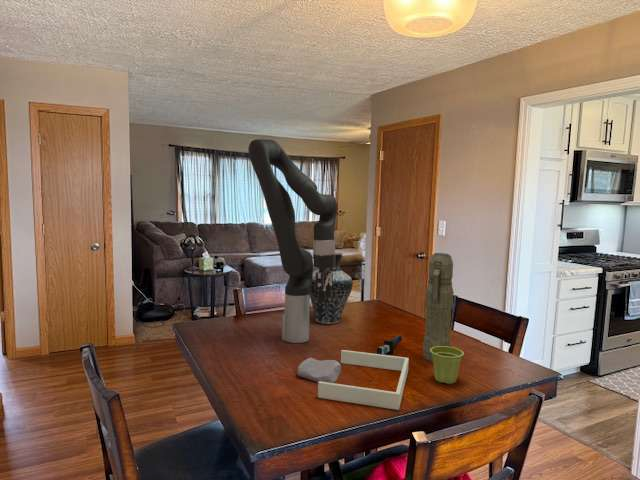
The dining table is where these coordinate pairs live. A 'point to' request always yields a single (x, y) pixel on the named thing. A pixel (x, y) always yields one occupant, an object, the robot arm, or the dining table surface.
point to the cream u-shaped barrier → (367, 394)
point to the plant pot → (446, 363)
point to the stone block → (319, 370)
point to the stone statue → (438, 303)
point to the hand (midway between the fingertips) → (325, 299)
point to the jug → (332, 295)
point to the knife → (389, 345)
